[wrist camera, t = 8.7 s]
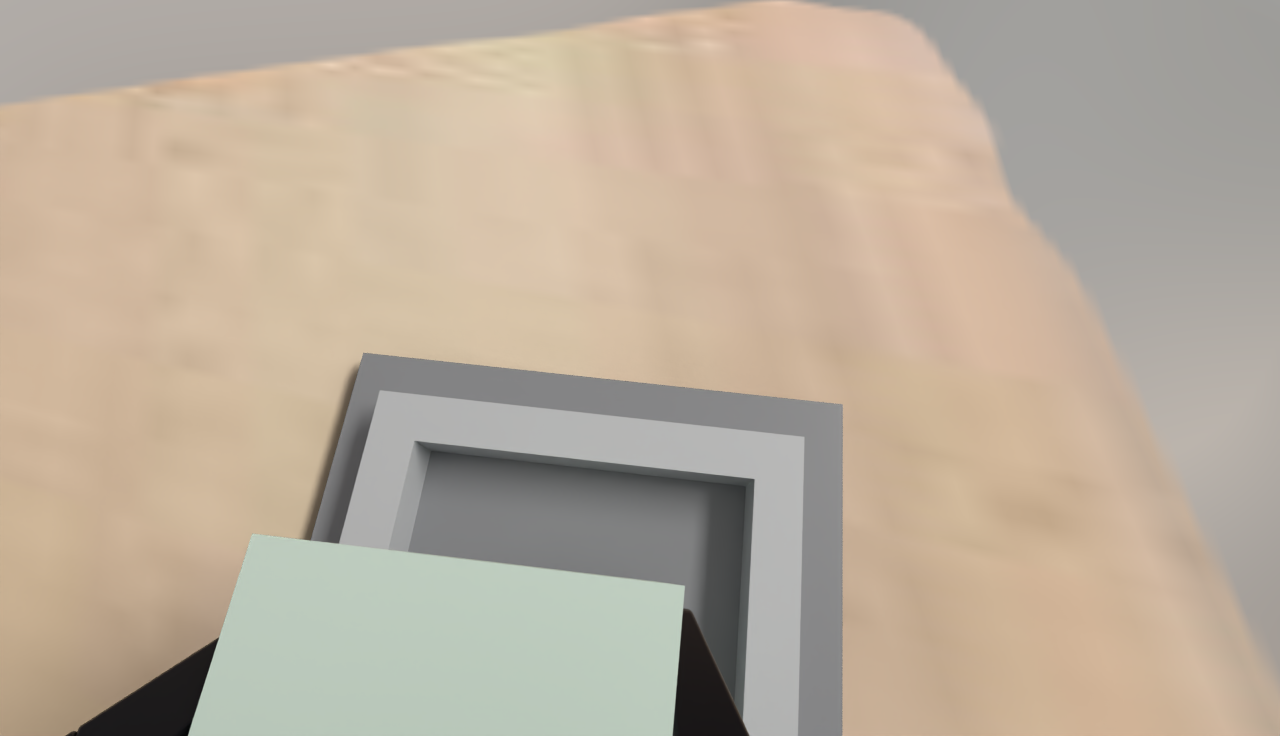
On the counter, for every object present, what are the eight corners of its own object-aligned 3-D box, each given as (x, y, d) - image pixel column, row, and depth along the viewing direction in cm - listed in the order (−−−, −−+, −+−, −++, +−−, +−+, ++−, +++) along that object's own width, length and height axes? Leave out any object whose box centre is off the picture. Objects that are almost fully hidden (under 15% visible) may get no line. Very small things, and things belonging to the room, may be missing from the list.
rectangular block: (639, 754, 15) (645, 1061, 5) (441, 728, 15) (108, 983, 6) (656, 581, 16) (685, 585, 7) (474, 559, 16) (252, 533, 7)
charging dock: (831, 1021, 15) (864, 1096, 13) (215, 934, 16) (147, 992, 13) (835, 410, 20) (858, 391, 18) (373, 361, 21) (342, 335, 19)
